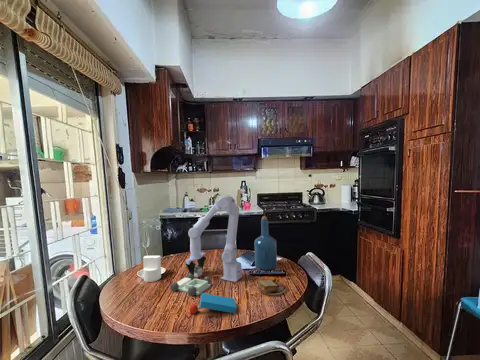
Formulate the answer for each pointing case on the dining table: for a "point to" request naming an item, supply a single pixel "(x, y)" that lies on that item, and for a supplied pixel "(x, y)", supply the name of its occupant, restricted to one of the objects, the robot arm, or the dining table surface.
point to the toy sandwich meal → (271, 287)
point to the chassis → (191, 285)
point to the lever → (215, 303)
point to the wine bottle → (265, 248)
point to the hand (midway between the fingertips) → (196, 272)
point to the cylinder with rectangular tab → (152, 268)
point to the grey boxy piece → (197, 271)
